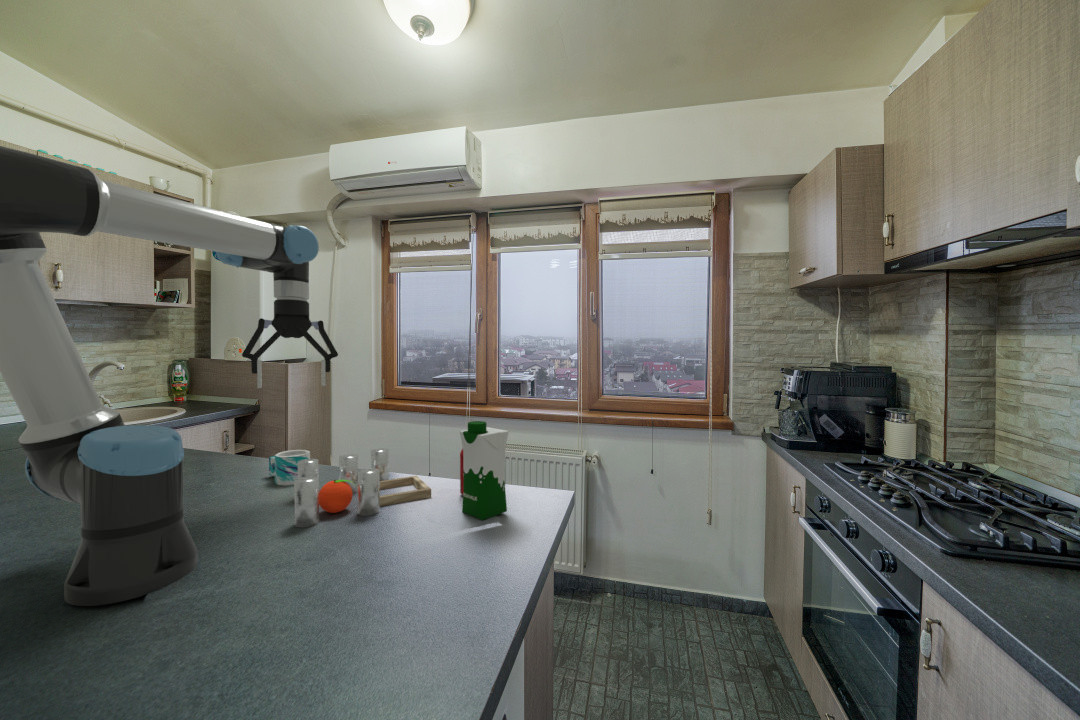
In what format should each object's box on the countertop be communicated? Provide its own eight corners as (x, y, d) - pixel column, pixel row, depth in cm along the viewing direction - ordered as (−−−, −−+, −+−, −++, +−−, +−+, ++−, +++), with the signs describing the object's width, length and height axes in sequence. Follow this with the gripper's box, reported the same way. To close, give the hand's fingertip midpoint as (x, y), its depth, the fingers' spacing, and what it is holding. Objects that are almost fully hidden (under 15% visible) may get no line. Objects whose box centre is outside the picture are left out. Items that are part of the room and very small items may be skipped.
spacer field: (409, 508, 97) (409, 468, 96) (295, 529, 85) (294, 484, 85) (386, 480, 118) (386, 447, 117) (292, 494, 106) (292, 458, 106)
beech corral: (431, 497, 104) (431, 489, 104) (373, 507, 97) (373, 498, 97) (416, 483, 115) (416, 475, 115) (364, 491, 108) (364, 483, 108)
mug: (287, 490, 109) (287, 457, 109) (258, 484, 114) (258, 452, 114) (316, 481, 116) (316, 451, 116) (288, 476, 122) (287, 446, 122)
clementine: (355, 503, 100) (355, 472, 100) (360, 512, 94) (359, 480, 94) (317, 510, 96) (316, 478, 95) (319, 520, 90) (318, 486, 89)
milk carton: (456, 512, 94) (455, 421, 94) (487, 501, 101) (487, 417, 100) (481, 523, 88) (481, 426, 88) (513, 511, 95) (513, 421, 94)
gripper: (345, 304, 115) (345, 383, 115) (230, 298, 102) (232, 387, 102) (349, 301, 108) (349, 385, 109) (227, 294, 95) (228, 389, 96)
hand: (292, 386), depth 105 cm, fingers open, 13 cm apart
